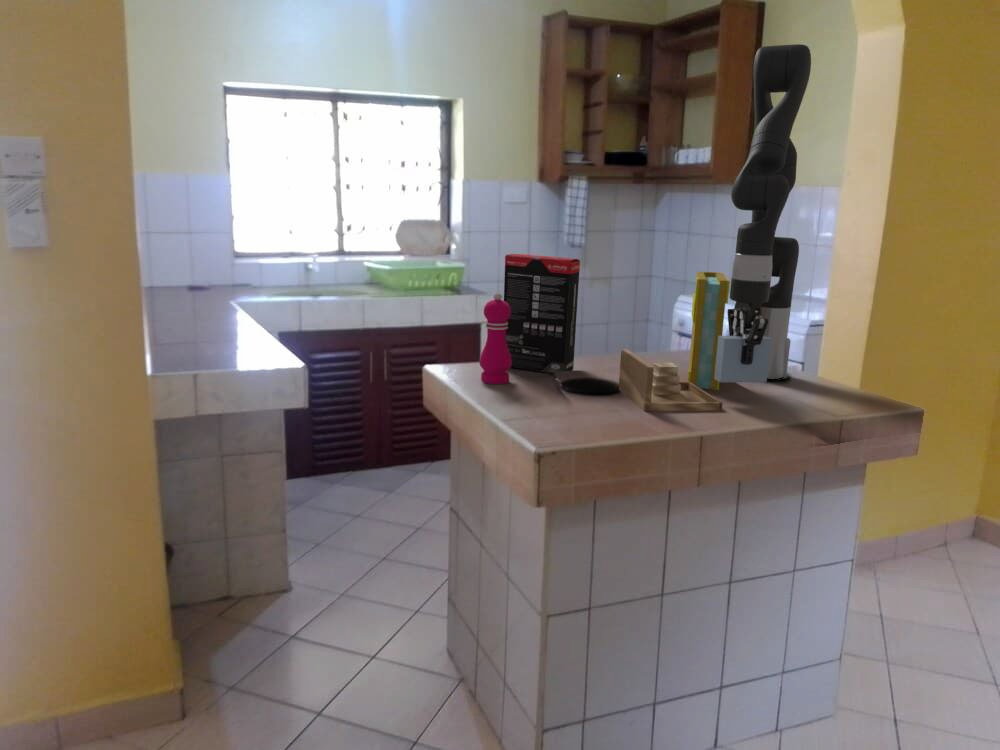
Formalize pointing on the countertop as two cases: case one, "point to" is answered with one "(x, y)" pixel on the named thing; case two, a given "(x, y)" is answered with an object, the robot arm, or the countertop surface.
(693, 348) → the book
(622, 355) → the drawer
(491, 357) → the pepper mill
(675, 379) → the offcut middle
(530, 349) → the graphics card box
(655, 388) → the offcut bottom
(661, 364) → the offcut top
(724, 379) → the block
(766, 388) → the countertop surface
